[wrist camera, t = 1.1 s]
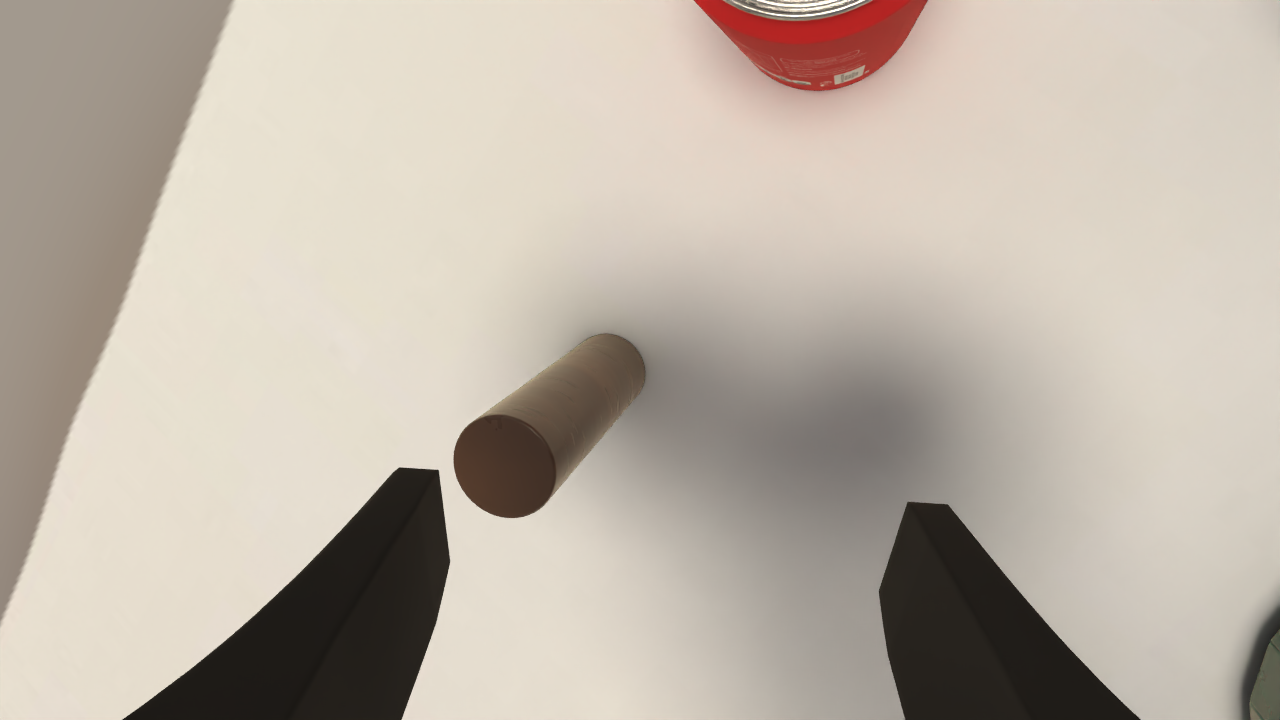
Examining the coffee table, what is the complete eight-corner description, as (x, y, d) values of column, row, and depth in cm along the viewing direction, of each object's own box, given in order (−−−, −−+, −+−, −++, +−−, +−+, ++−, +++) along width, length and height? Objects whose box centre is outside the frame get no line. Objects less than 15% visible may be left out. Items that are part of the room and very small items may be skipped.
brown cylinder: (642, 413, 27) (552, 528, 19) (569, 401, 28) (451, 508, 19) (648, 339, 27) (558, 424, 18) (574, 329, 27) (453, 407, 19)
